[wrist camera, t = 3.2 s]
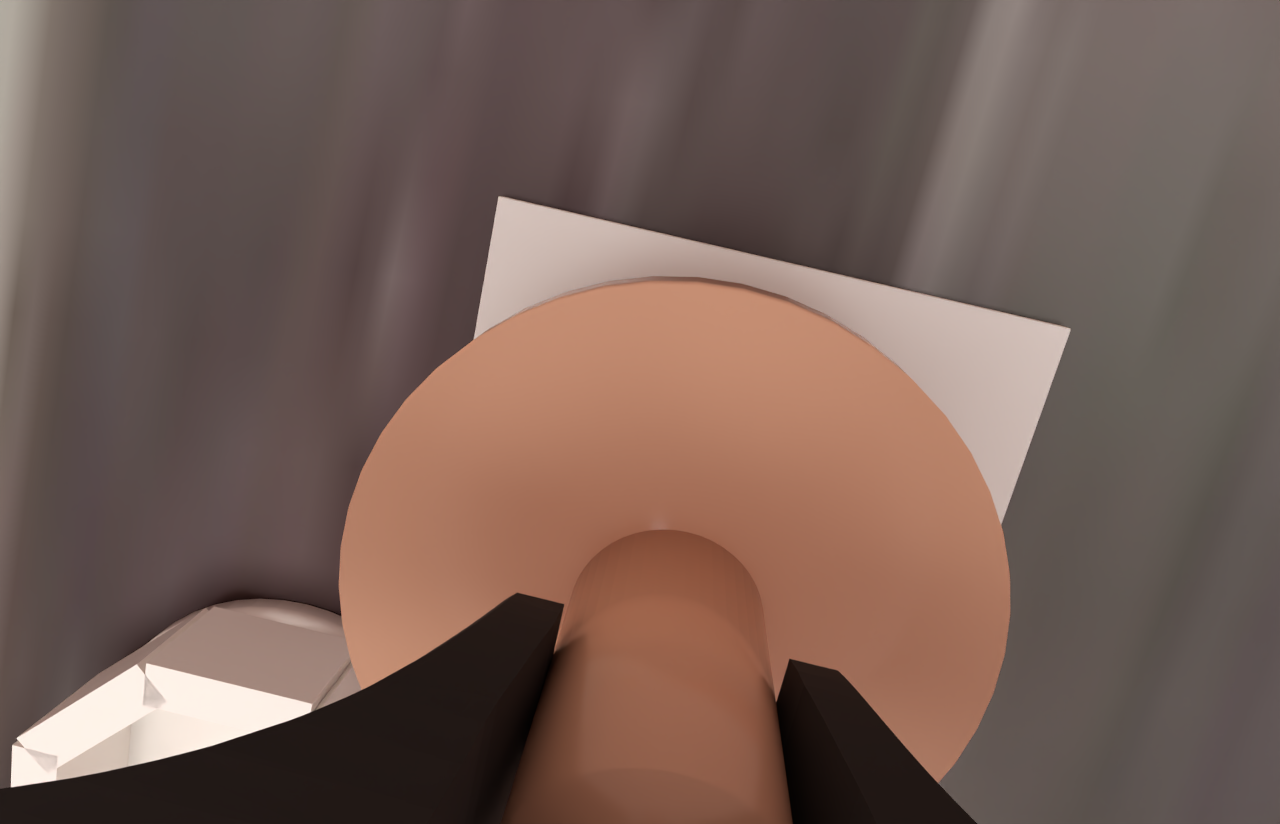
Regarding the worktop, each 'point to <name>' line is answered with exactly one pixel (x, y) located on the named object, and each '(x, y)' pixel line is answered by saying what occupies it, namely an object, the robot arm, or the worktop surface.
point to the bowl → (193, 690)
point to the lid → (683, 542)
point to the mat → (884, 315)
